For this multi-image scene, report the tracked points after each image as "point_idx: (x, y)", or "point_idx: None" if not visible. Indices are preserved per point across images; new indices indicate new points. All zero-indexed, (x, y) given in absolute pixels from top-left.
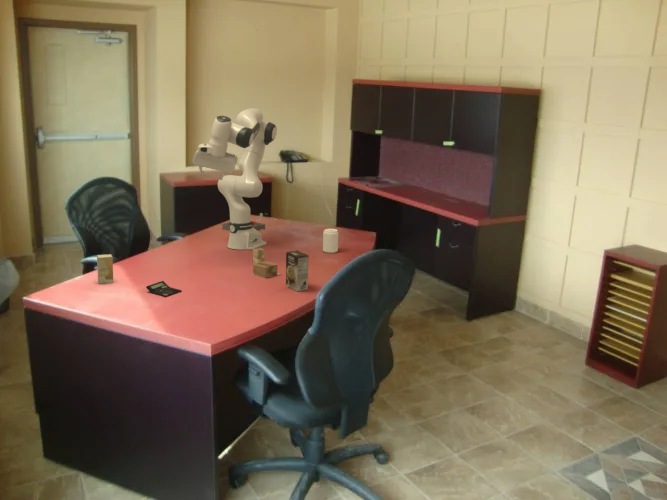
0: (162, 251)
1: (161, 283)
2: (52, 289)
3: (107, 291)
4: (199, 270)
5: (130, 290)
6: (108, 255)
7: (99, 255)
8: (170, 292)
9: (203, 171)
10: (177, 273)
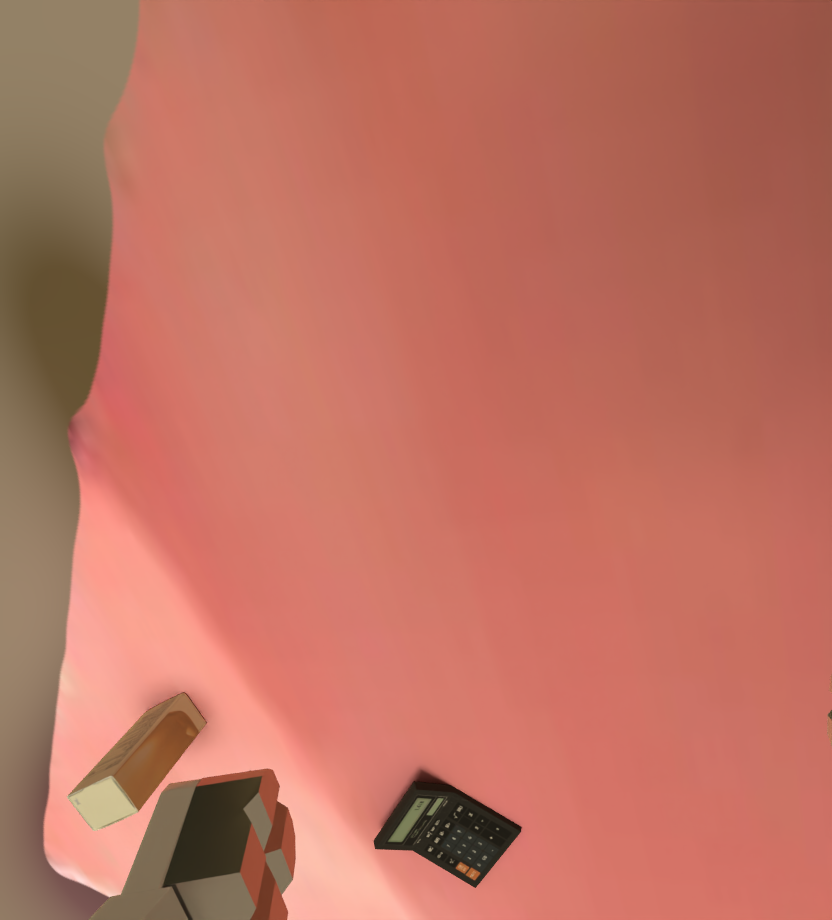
0: (177, 168)
1: (417, 803)
2: (56, 790)
3: None
4: (520, 532)
5: (312, 807)
6: (113, 799)
7: (78, 801)
8: (481, 852)
9: (233, 894)
10: (420, 590)
